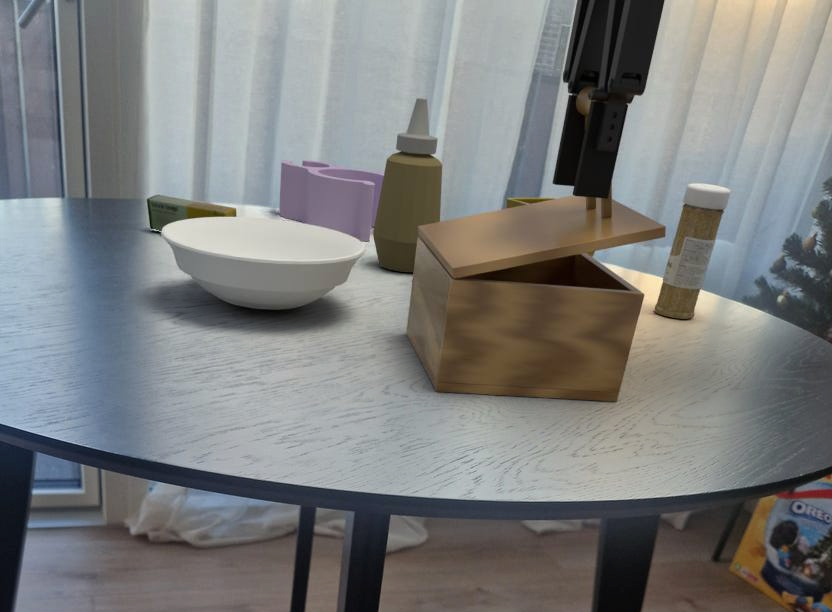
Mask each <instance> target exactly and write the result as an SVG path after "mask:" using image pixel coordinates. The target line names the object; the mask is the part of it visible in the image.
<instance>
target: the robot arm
mask: <svg viewBox="0 0 832 612" xmlns="http://www.w3.org/2000/svg"><path fill="white" fill-rule="evenodd" d="M665 1H666V0H576V4H575V9H574V15H573V21H572V25H571V32H570V37H569V42H568V47H567V48H568V49H567V53H566V58H565V64H564V68H563V69H564V70H563V73H562V82H563V83H564V84H567V93H568V94H569V95H568V97H567V103H566V108H565V114H564V120H563V125H562V131H561V136H560V139H559V140H560V141H559V145H558V150H557V151H558V152H557V157H556V162H555V168H554V172H553V178H552V185H555V186H564V187H565V186H566V187H573V191H572V195H571V196H573V195H574V196H581V197H593V198H605V199H608V196H609V191H610V187H611V182H612V183H613V177H614V172H615V168H616V163H617V159H618V154H619V151H620V146H621V141H622V136H623V132H624V128H625V123H626V117H627V113H628V109H629V105H630V104H632V103H633V101H634V98H635V96H637V97H638V96H639V97H642V96H643V95H644V93H645V90H646V87H647V83H648V78H649V73H650V68H651V65H652V59H653V55H654V51H655V46H656V41H657V38H658V33H659V32H658V31H659V29H660V23H661V20H662V14H663V9H664V5H665ZM586 87H595V88H598V89H593V90H592V91H590V92H588V99H589V100H595V101H591V104H590V109H589V114H588V119H587V124H586V129H585V115H582V114H581V113H580V112H579V111H578V110H577V107H576V99H577V96H578V94H579V93H580V91H581V90H582V89H584V88H586ZM601 101H603V102H601Z"/></svg>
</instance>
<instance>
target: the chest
mask: <svg viewBox="0 0 832 612" xmlns="http://www.w3.org/2000/svg"><path fill="white" fill-rule="evenodd" d="M412 273H413V274H412V281H411V282H412V283H411V290H410V298H409V306H408V313H407V320H406V321H407V323H406V329H405V334H406V335H407V337H408V340H409V342H410V344H411V346H412V347H413V349H414V351H415V354H416V355H417V357H418V359H419V361H420V363H421V365H422V367H423V369H424V371H425V373H426V375H427V376H428V378H429V381H430V383H431V385H432V387H433V388H434V390H435V392H437V393H439V392H440V393H452V394H453V393H454V394H471V395H472V394H473V395H487V396H488V395H492V396H507V397H523V398H524V397H526V398H542V399H543V398H546V399H562V400H563V399H564V400H579V401H596V402H597V401H598V402H612V403H613V402H615V403H617V402H618V398H619V395H620V391H621V387H622V383H623V379H624V376H625V372H626V368H627V364H628V360H629V357H630V352H631V348H632V345H633V341H634V337H635V333H636V330H637V325H638V322H639V319H640V318H639V317H640V314H641V309H642V306H643V302H644V299H645V293H644V292H642V290H639V288H636V286H634V285H632V284H631V283H630V282H628V281H627V280H626V279H624V278H623V277H621V276H620V275H618V274H617V273H616V272H614V271H612V270H611V269H610V268H609V267H607V266H606V265H604V264H603V263H602V262H600V261H599V260H597V259H596V258H594V256H593V257H591V256H590V255H588V254H587V253H582V254H577V255H572V256H567V257H562V258H557V259H552V260H547V261H542V262H537V263H531V264H526V265H521V266H516V267H511V268H506V269H501V270H496V271H491V272H486V273H481V274H476V275H471V276H466V277H460V278H455V279H454V278H453V277H452V276H451V275H450V273H449V272H448V271H447V269H446V268H445V267H444V266H443V264H442V263H441V262H440V261H439V259H438V258H437V257H436V256H435V254H434V253H433V252H432V251H431V249H430V248H429V247H428V246H427V244H426V243H425V242H424V241H423V239H422V238H421V237H420V236H418V240H417V248H416V256H415V264H414V272H412Z"/></svg>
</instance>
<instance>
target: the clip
mask: <svg viewBox="0 0 832 612" xmlns="http://www.w3.org/2000/svg"><path fill="white" fill-rule="evenodd" d="M383 177H384V173H382V172H378V171H372V170H365V169H359V168H358V169H357V168H349V167H344V166H340V165H337V164H334V163H330V162H325V161H318V160H310V159H302V162H301V165H300V164H295V163H293V161H292V160H285V159H284V160H281V162H280V183H279V187H280V188H279V208H278V210H279V211H278V215H279V216H280V217H282V218H285V219H287V220H294V221H298V222H300V223H304V224H309V225H314V226H319V227H324V228H328V229H332V230H335V231H339V232H342V233H345V234H348V235H350V236H352V237H354V238H356V239H358V240H360V241H361V242H370V240H371V239H370V238H371V231H372V230H371V229H372V228H374V225H375V220H376V214H377V209H378V204H379V198H380V193H381V188H382V183H383Z"/></svg>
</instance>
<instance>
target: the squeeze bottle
mask: <svg viewBox="0 0 832 612" xmlns="http://www.w3.org/2000/svg"><path fill="white" fill-rule="evenodd" d="M395 144H396V145H395V150H397V151H398V152H395V153H392V154H391V155H390V156H388V157H387V158H386V161H385V162H386V163H385V167H384V173H383V174H384V177H383V183H382V188H381V193H380V198H379V204H378V209H377V214H376V220H375V225H374V227H373V230H372V235H373V241H374V247H375V251H376V257H377V262H378V265H379V266H381V267H383V268H385V269H388V270H391V271H394V272H399V273H414V264H415V256H416V248H417V240H418V236H420V235H419V230H418V226H421V225H426V224H431V223H436V222H441V207H442V206H441V204H442V184H443V183H442V181H443V163H442V162H441V161H440V159H438V158H437V157H435V156H434V155H435V154H437V147H438V137H436V136H433V135H430V123H429V109H428V99H427V98H418V97H417V98H416V100H415V103H414V106H413V110H412V113H411V117H410V120H409V123H408V127H407V130H406V131H405V132H399V133H397V136H396V143H395Z"/></svg>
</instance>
